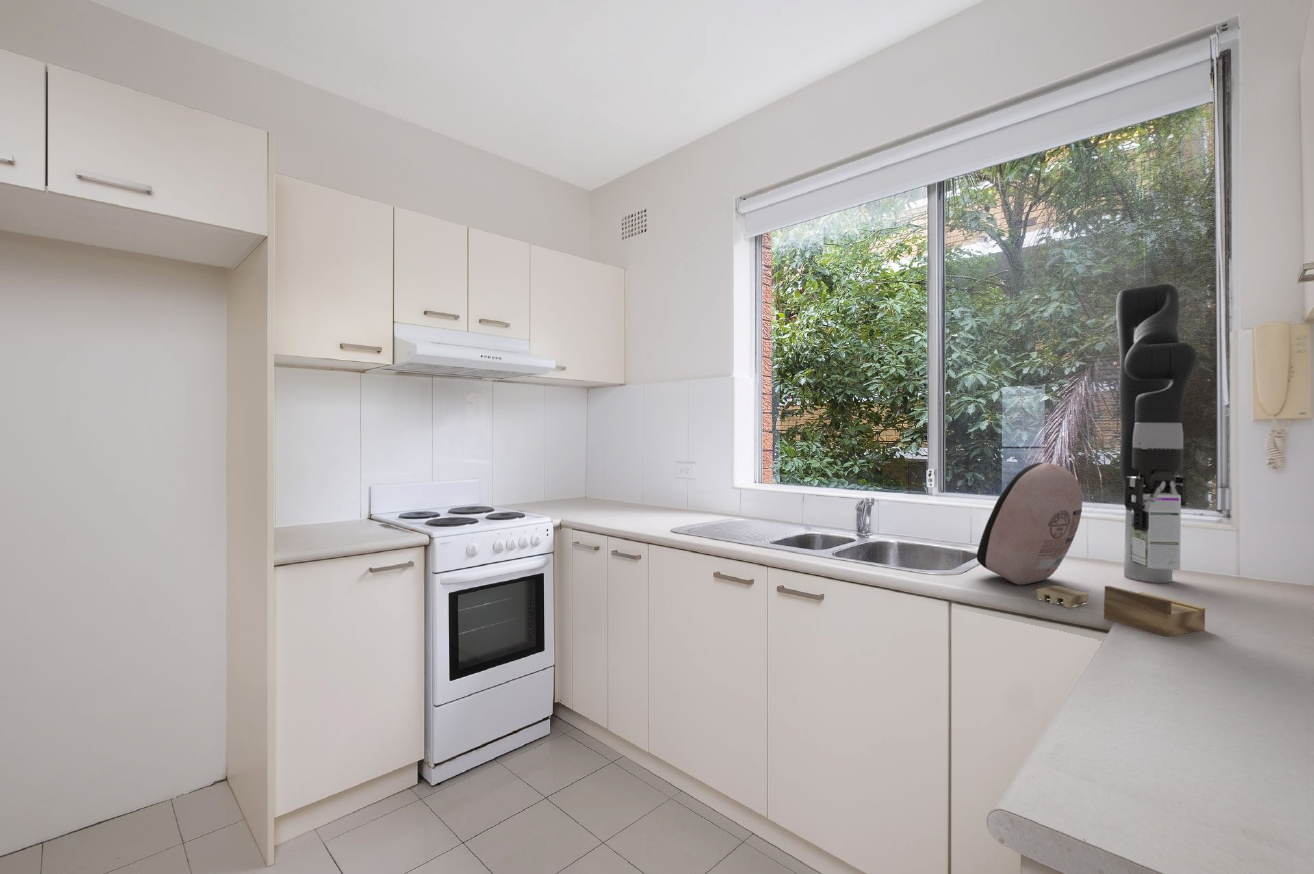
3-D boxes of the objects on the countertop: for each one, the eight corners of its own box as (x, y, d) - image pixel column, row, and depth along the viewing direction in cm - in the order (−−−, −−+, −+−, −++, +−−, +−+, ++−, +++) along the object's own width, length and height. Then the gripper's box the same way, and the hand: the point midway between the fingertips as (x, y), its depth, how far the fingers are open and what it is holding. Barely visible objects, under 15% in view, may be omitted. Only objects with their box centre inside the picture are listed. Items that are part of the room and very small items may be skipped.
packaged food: (1013, 568, 160) (1015, 458, 159) (1095, 585, 143) (1098, 463, 142) (964, 578, 149) (967, 460, 148) (1048, 598, 132) (1051, 465, 131)
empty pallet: (1053, 595, 134) (1053, 585, 134) (1088, 603, 128) (1088, 593, 128) (1036, 599, 130) (1036, 589, 130) (1071, 608, 124) (1071, 597, 124)
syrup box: (1181, 570, 111) (1183, 494, 111) (1146, 568, 113) (1148, 493, 112) (1162, 563, 117) (1164, 491, 117) (1128, 561, 118) (1130, 490, 118)
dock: (1140, 612, 122) (1141, 582, 122) (1204, 630, 111) (1205, 596, 111) (1103, 617, 118) (1104, 586, 118) (1166, 636, 108) (1167, 601, 108)
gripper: (1159, 445, 120) (1157, 524, 121) (1111, 445, 116) (1109, 527, 116) (1204, 446, 113) (1201, 530, 113) (1154, 447, 108) (1152, 534, 109)
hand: (1155, 529), depth 115 cm, fingers closed on syrup box, 8 cm apart
